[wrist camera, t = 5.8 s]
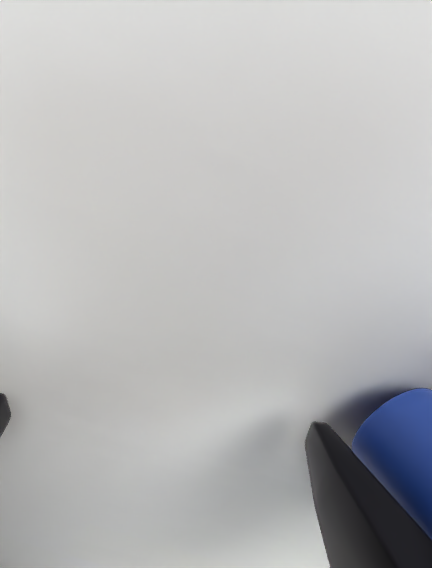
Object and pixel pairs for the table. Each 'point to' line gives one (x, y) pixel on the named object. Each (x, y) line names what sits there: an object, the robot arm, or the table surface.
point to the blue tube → (401, 451)
